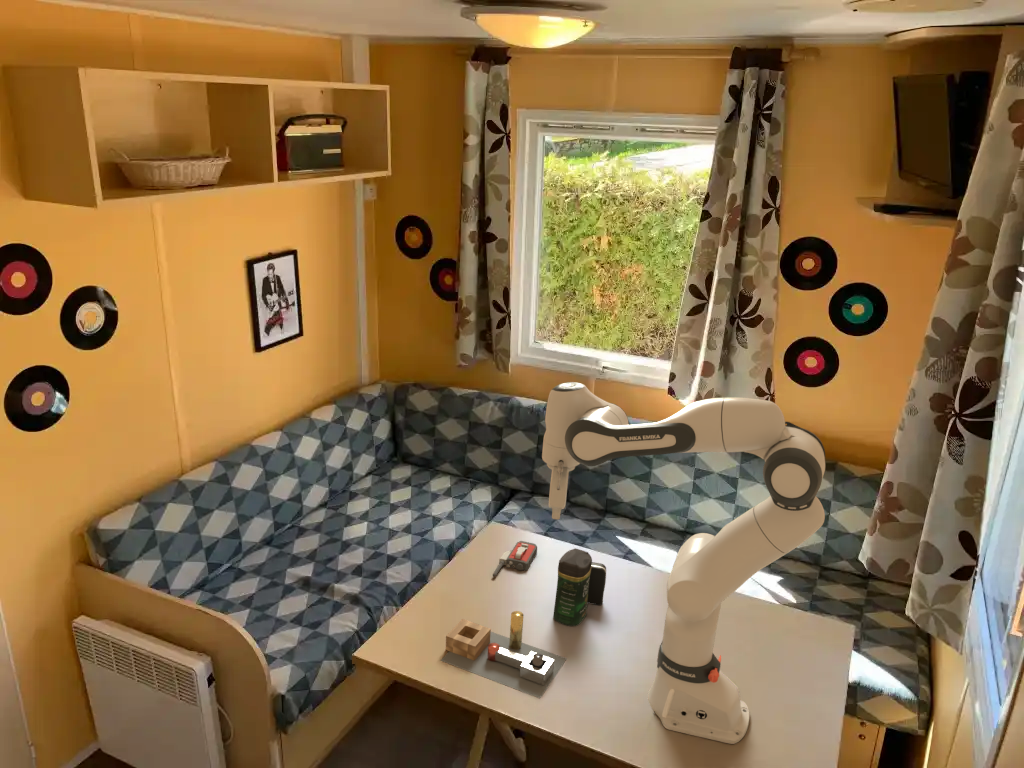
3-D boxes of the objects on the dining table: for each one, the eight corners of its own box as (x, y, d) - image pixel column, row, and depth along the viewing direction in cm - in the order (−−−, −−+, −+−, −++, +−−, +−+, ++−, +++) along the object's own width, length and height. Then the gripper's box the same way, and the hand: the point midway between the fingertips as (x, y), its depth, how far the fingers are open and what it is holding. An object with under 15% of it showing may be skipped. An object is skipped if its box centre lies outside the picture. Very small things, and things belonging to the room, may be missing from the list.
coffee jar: (577, 631, 202) (583, 568, 197) (549, 621, 206) (554, 559, 200) (590, 612, 211) (596, 551, 205) (563, 603, 214) (568, 542, 208)
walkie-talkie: (511, 545, 242) (489, 579, 224) (512, 533, 241) (490, 565, 222) (539, 551, 240) (519, 585, 221) (539, 538, 238) (520, 572, 220)
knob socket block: (553, 670, 186) (554, 659, 185) (543, 685, 181) (544, 674, 180) (493, 648, 193) (494, 637, 192) (482, 662, 187) (482, 651, 186)
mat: (566, 660, 191) (566, 658, 191) (539, 700, 177) (539, 698, 177) (472, 627, 202) (473, 625, 201) (440, 662, 188) (440, 660, 188)
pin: (523, 644, 195) (525, 613, 192) (518, 651, 193) (520, 619, 190) (512, 640, 196) (514, 609, 194) (507, 647, 194) (509, 615, 191)
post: (543, 673, 185) (544, 655, 184) (539, 679, 183) (540, 661, 182) (534, 669, 186) (535, 652, 185) (529, 675, 184) (531, 657, 183)
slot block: (490, 642, 195) (490, 628, 194) (474, 660, 188) (475, 646, 187) (461, 632, 198) (462, 618, 197) (445, 649, 192) (446, 635, 190)
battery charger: (604, 598, 217) (607, 562, 214) (602, 606, 214) (606, 569, 210) (578, 594, 218) (582, 558, 215) (577, 602, 215) (580, 565, 211)
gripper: (574, 473, 165) (569, 531, 170) (577, 436, 185) (572, 490, 189) (545, 470, 166) (539, 528, 170) (550, 434, 185) (546, 487, 190)
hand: (556, 508), depth 180 cm, fingers open, 8 cm apart
